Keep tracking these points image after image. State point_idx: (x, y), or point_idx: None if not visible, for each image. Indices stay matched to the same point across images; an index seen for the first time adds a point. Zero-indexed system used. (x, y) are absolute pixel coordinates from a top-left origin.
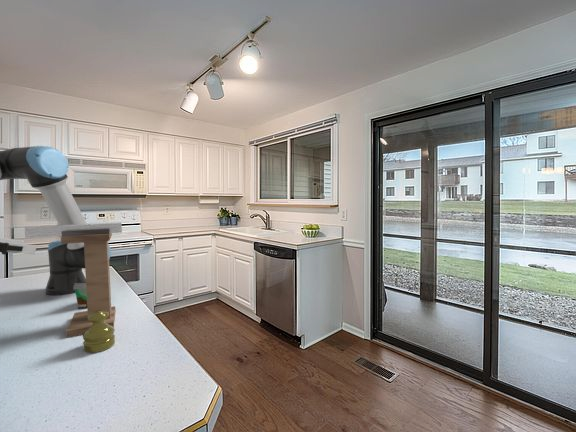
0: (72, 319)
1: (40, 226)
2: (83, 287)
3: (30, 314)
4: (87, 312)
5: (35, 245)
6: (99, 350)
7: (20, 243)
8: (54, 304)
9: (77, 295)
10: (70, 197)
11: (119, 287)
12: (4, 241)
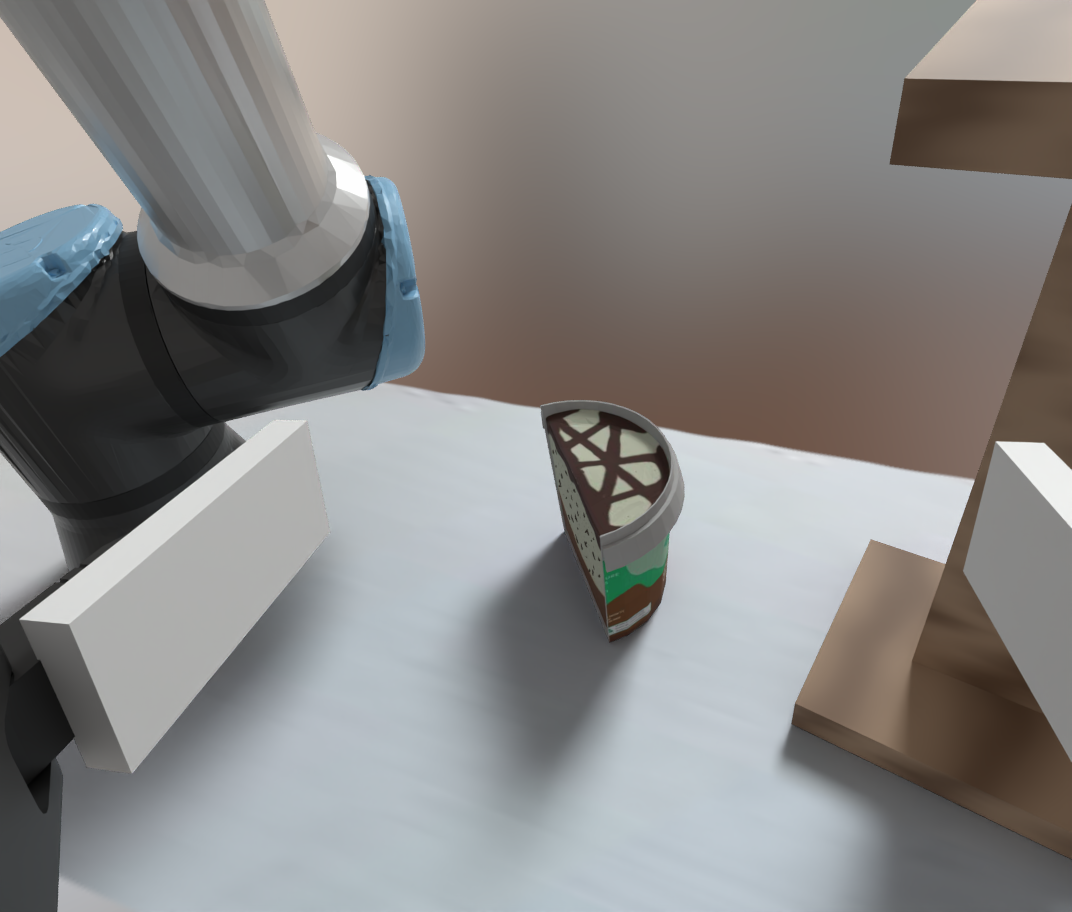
0: (944, 767)
1: None
2: (662, 531)
3: (418, 844)
4: (863, 661)
5: (1003, 446)
6: None
7: (298, 484)
8: (376, 680)
9: (614, 588)
10: None
11: (455, 413)
12: (176, 605)
